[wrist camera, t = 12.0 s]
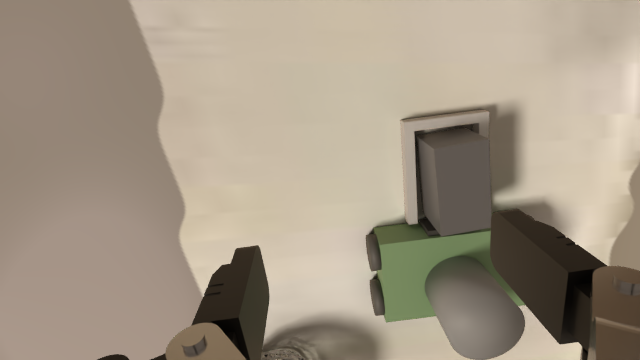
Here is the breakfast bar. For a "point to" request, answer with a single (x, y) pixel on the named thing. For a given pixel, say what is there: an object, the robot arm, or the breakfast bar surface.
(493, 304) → the toy tractor
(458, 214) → the grey rectangular block
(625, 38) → the breakfast bar surface
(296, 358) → the pendant light
